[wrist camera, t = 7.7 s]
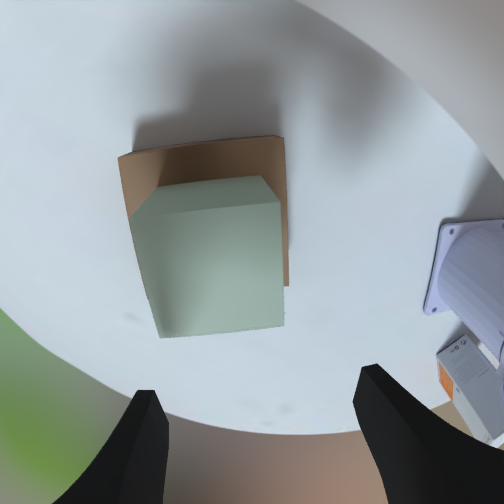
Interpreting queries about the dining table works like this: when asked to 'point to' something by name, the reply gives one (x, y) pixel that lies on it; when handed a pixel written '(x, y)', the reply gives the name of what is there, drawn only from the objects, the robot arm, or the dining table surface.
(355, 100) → the dining table surface
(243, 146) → the walnut block
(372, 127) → the dining table surface
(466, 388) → the skincare box
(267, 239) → the sage cube
